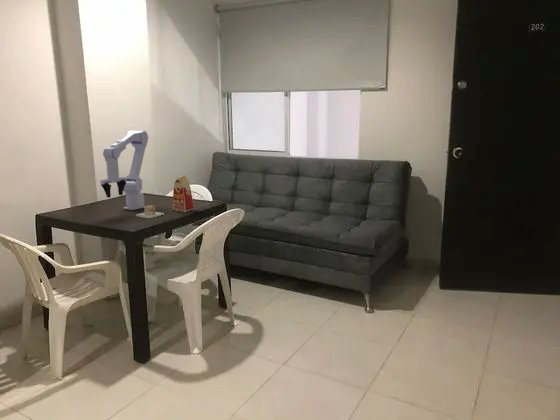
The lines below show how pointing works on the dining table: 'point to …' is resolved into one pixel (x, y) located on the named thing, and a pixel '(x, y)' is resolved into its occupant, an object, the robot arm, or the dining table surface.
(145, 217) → the coaster
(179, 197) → the milk carton
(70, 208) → the dining table surface
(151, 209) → the maple block
